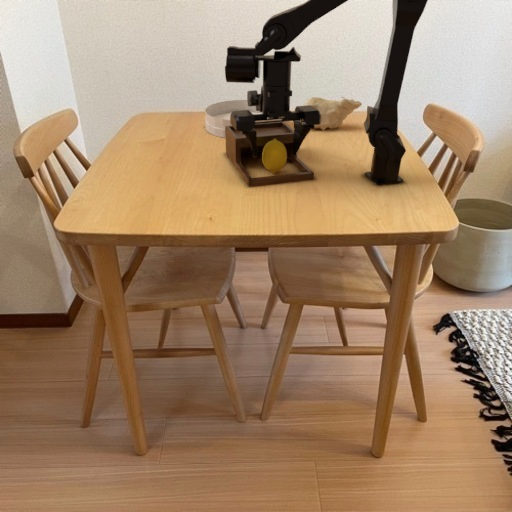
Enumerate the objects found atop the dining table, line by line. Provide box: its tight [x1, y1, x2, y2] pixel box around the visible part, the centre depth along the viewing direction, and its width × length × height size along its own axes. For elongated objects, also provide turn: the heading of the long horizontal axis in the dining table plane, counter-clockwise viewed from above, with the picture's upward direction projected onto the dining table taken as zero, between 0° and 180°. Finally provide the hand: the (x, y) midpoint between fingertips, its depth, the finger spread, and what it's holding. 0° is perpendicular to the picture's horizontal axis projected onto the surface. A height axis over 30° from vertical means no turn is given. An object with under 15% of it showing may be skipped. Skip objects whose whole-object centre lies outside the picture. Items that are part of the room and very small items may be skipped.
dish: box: [204, 99, 280, 139], centre depth 137 cm, size 22×22×5 cm
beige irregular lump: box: [302, 96, 363, 131], centre depth 136 cm, size 15×7×15 cm
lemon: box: [261, 139, 288, 175], centre depth 106 cm, size 6×6×8 cm
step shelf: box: [225, 121, 315, 187], centre depth 111 cm, size 21×15×7 cm
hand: (274, 156), depth 106 cm, fingers open, 9 cm apart
